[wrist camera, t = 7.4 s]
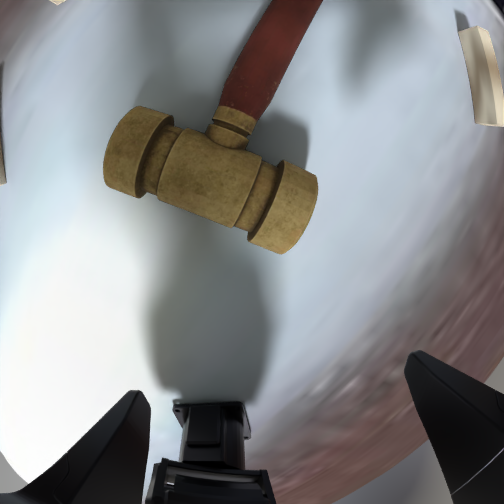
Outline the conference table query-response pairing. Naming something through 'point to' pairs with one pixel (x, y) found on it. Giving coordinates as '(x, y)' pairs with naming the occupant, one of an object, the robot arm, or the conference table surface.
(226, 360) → the conference table surface
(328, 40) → the conference table surface
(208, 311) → the conference table surface
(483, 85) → the wooden bars
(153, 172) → the gavel
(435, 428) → the robot arm
